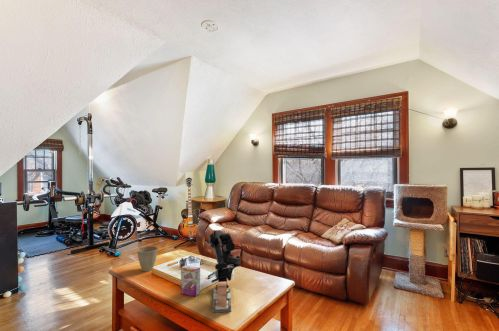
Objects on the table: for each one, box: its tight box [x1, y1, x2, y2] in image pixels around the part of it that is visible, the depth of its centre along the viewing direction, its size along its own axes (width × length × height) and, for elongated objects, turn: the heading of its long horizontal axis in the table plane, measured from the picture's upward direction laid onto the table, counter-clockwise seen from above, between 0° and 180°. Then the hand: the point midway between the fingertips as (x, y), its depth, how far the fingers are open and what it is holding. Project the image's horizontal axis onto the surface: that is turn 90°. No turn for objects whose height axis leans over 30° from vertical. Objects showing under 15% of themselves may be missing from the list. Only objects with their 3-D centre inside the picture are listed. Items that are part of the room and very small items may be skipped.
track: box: [212, 288, 232, 313], centre depth 149 cm, size 20×10×4 cm, turn 5°
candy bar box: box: [180, 264, 201, 297], centre depth 159 cm, size 11×5×16 cm, turn 71°
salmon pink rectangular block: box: [215, 281, 228, 310], centre depth 142 cm, size 7×7×12 cm
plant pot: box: [137, 245, 159, 272], centre depth 197 cm, size 15×15×16 cm
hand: (229, 280), depth 155 cm, fingers closed
